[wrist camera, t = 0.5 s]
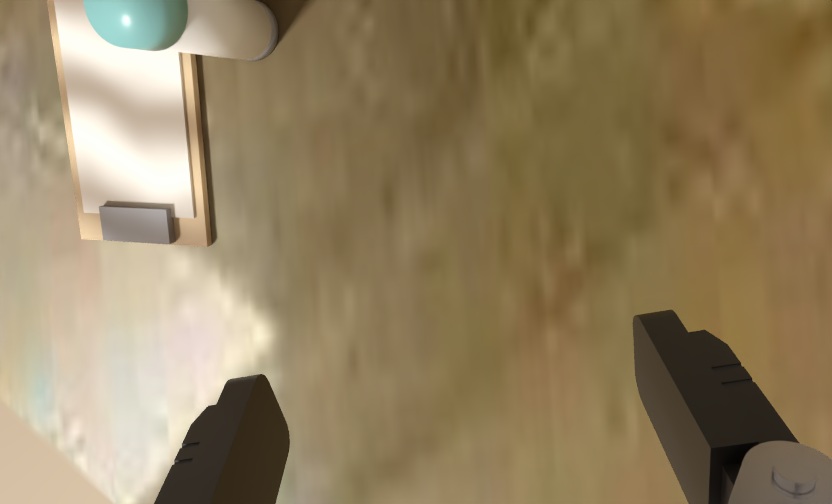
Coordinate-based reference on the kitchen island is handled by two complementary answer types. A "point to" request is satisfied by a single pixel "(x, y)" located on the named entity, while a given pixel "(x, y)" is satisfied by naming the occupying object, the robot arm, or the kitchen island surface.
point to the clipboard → (131, 136)
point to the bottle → (187, 26)
